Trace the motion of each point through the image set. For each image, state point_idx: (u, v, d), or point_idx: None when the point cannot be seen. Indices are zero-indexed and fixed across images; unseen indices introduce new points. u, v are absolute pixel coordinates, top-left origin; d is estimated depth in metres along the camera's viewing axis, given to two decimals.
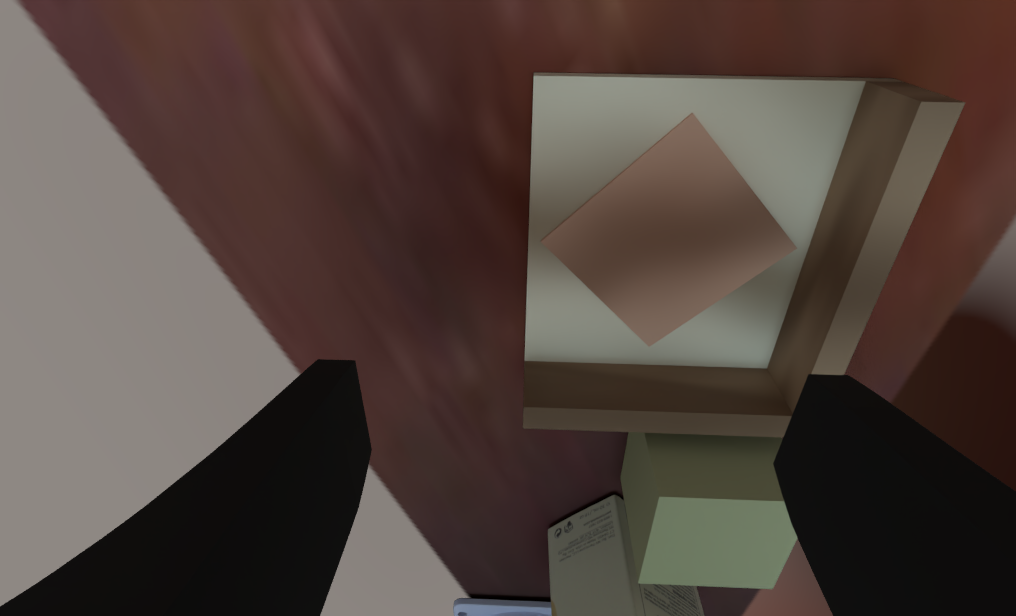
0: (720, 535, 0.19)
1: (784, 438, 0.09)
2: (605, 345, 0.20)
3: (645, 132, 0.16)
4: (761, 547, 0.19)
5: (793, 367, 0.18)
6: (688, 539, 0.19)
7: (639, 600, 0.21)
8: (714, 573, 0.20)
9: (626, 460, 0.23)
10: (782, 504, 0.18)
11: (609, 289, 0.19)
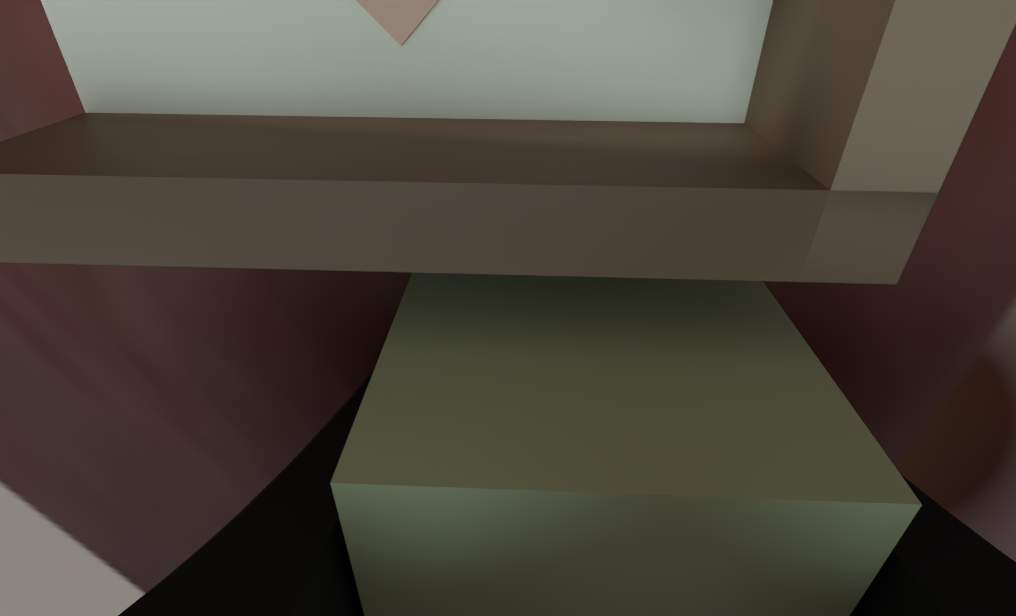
0: (588, 614, 0.06)
1: None
2: (282, 50, 0.07)
3: None
4: None
5: (826, 27, 0.05)
6: None
7: None
8: None
9: None
10: (796, 511, 0.05)
11: None
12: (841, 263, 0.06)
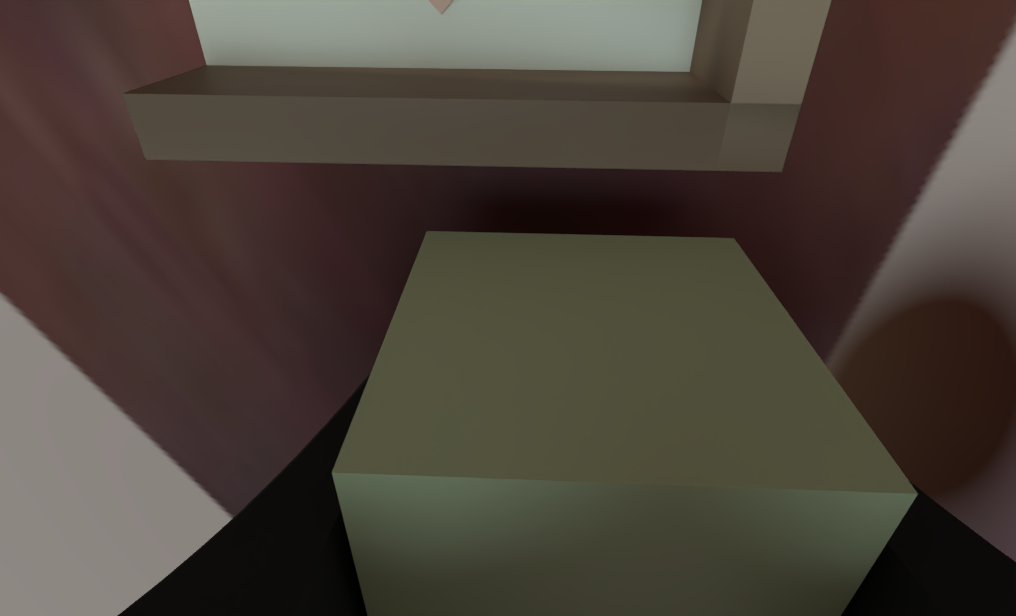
0: (588, 604, 0.06)
1: None
2: (354, 17, 0.10)
3: None
4: None
5: None
6: (488, 614, 0.06)
7: None
8: None
9: None
10: (793, 501, 0.05)
11: None
12: (743, 156, 0.08)
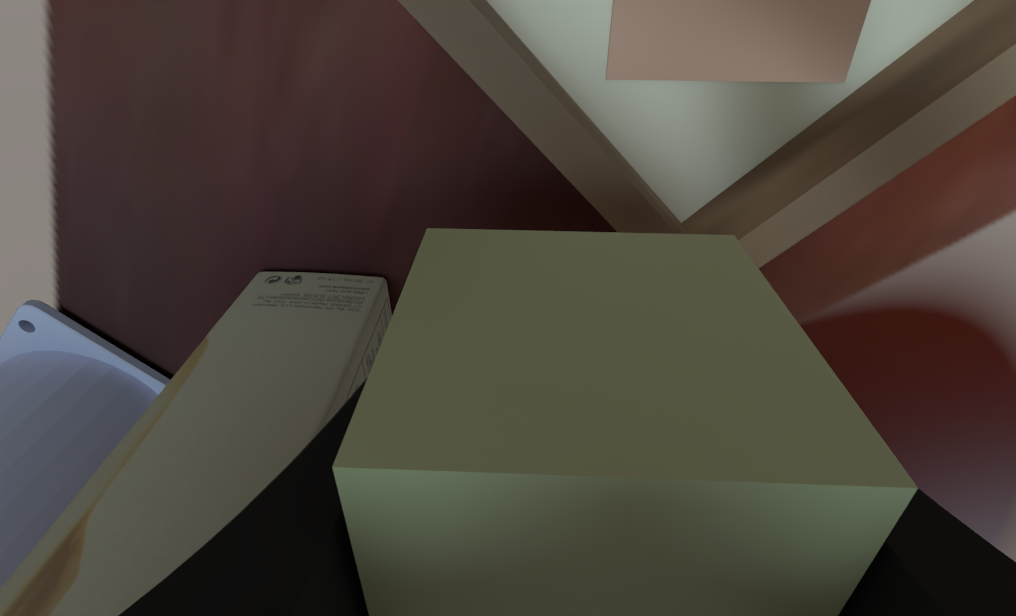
0: (588, 600, 0.06)
1: None
2: (561, 30, 0.13)
3: None
4: None
5: (737, 215, 0.14)
6: (488, 610, 0.06)
7: (347, 388, 0.14)
8: None
9: None
10: (793, 495, 0.05)
11: None
12: None
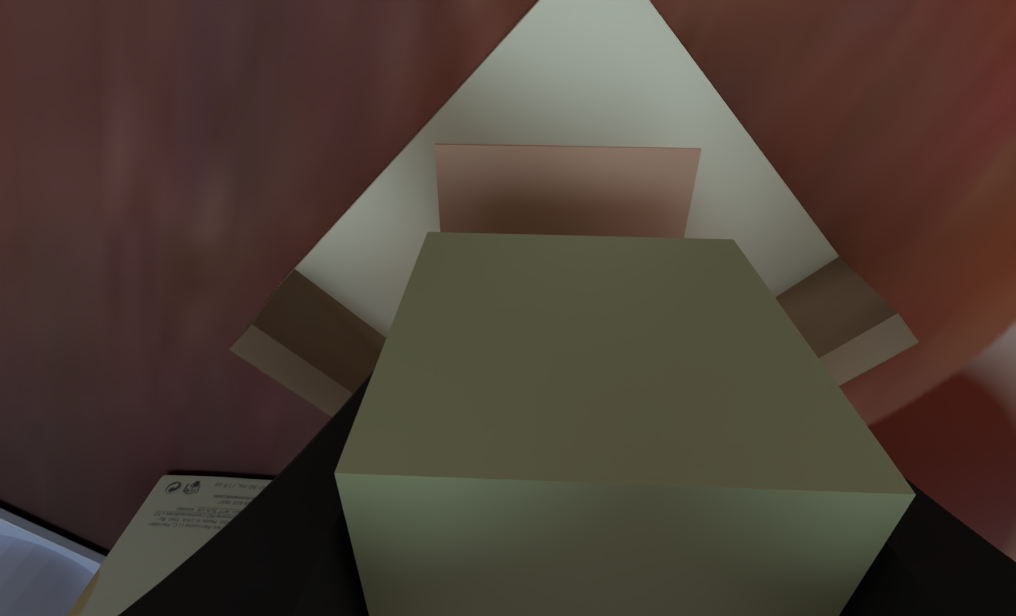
0: (589, 604, 0.06)
1: None
2: None
3: (644, 125, 0.12)
4: None
5: None
6: (489, 614, 0.06)
7: None
8: None
9: None
10: (792, 501, 0.05)
11: None
12: None
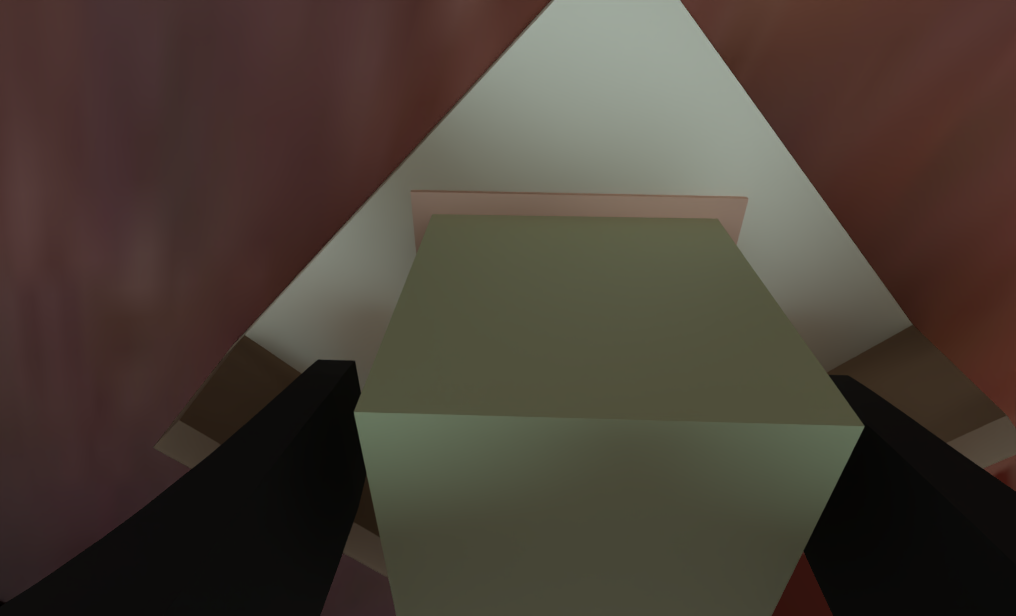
0: (580, 538, 0.06)
1: None
2: None
3: (676, 169, 0.09)
4: (704, 570, 0.07)
5: None
6: (491, 548, 0.07)
7: None
8: None
9: None
10: (756, 434, 0.05)
11: None
12: None
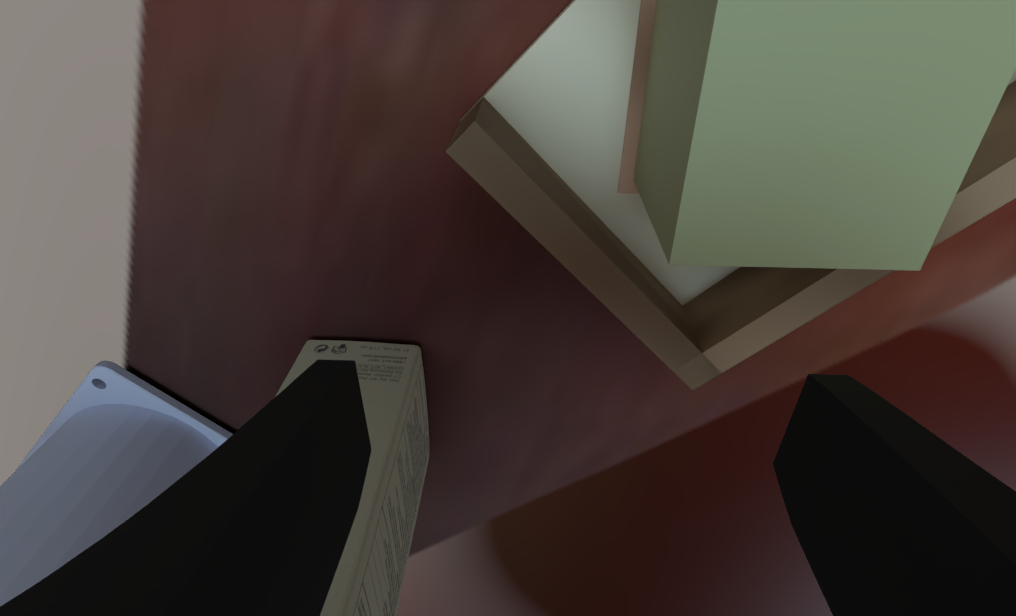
0: (838, 110, 0.09)
1: (784, 438, 0.09)
2: (579, 154, 0.15)
3: None
4: (917, 145, 0.10)
5: (731, 308, 0.16)
6: (771, 126, 0.10)
7: (393, 457, 0.16)
8: (813, 230, 0.11)
9: (644, 123, 0.14)
10: None
11: None
12: (686, 374, 0.16)
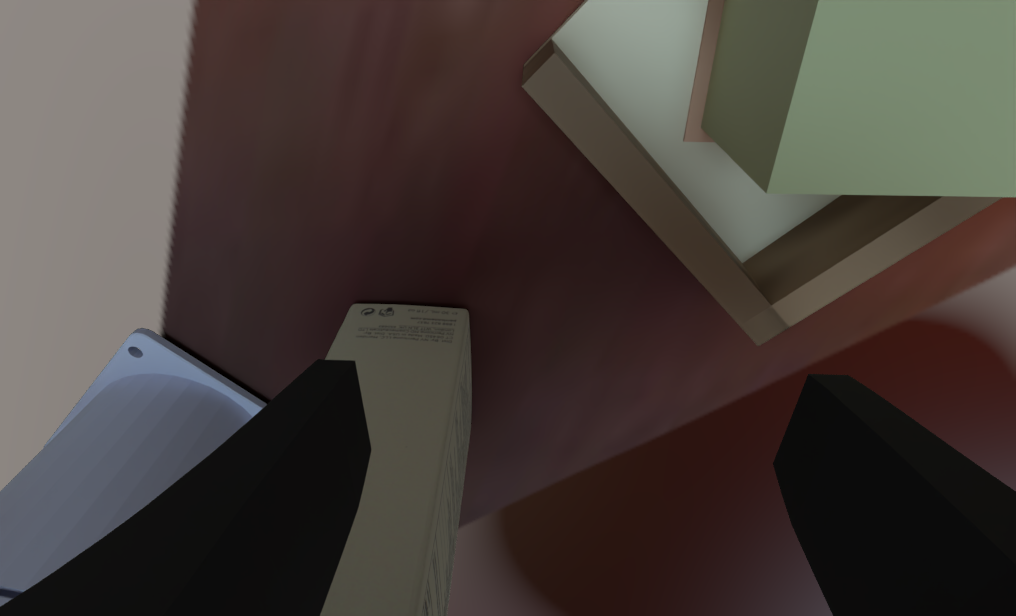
0: (961, 17, 0.09)
1: (784, 438, 0.09)
2: (647, 100, 0.15)
3: None
4: None
5: (799, 261, 0.15)
6: (890, 36, 0.09)
7: (453, 414, 0.15)
8: (921, 153, 0.10)
9: (719, 64, 0.14)
10: None
11: None
12: (753, 328, 0.16)
